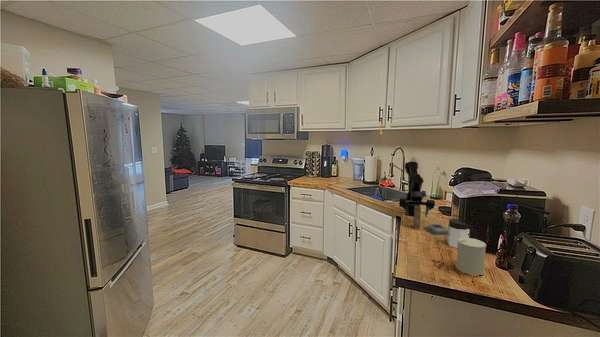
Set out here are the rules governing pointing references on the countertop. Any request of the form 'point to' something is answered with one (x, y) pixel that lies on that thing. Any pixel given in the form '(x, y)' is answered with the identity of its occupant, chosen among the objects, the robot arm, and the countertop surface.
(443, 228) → the square frame on plate
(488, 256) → the countertop surface
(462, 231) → the jar
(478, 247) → the can
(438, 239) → the countertop surface
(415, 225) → the walnut stick
